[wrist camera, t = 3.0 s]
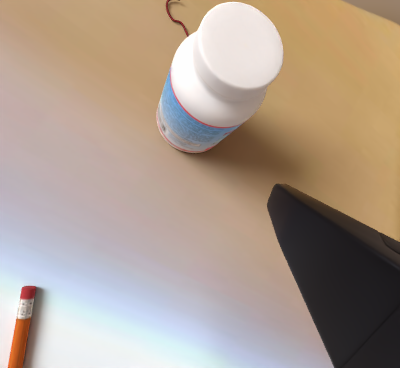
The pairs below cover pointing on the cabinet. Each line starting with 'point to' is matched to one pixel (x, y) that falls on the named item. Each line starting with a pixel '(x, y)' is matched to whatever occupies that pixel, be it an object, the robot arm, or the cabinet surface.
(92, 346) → the cabinet surface
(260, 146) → the cabinet surface
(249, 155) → the cabinet surface
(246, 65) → the pill bottle
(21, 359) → the pencil
